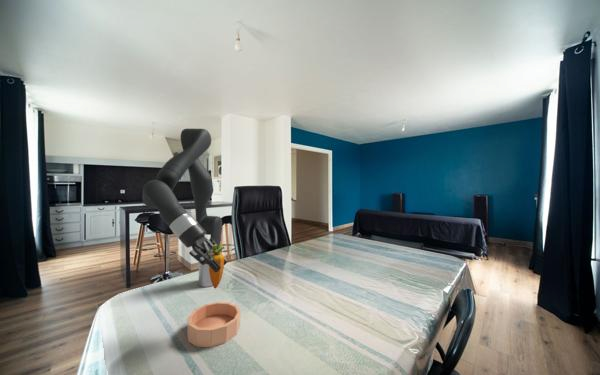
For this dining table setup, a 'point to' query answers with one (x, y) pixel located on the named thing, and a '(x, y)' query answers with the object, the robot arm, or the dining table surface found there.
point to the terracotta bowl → (213, 324)
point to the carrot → (219, 259)
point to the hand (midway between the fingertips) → (221, 267)
